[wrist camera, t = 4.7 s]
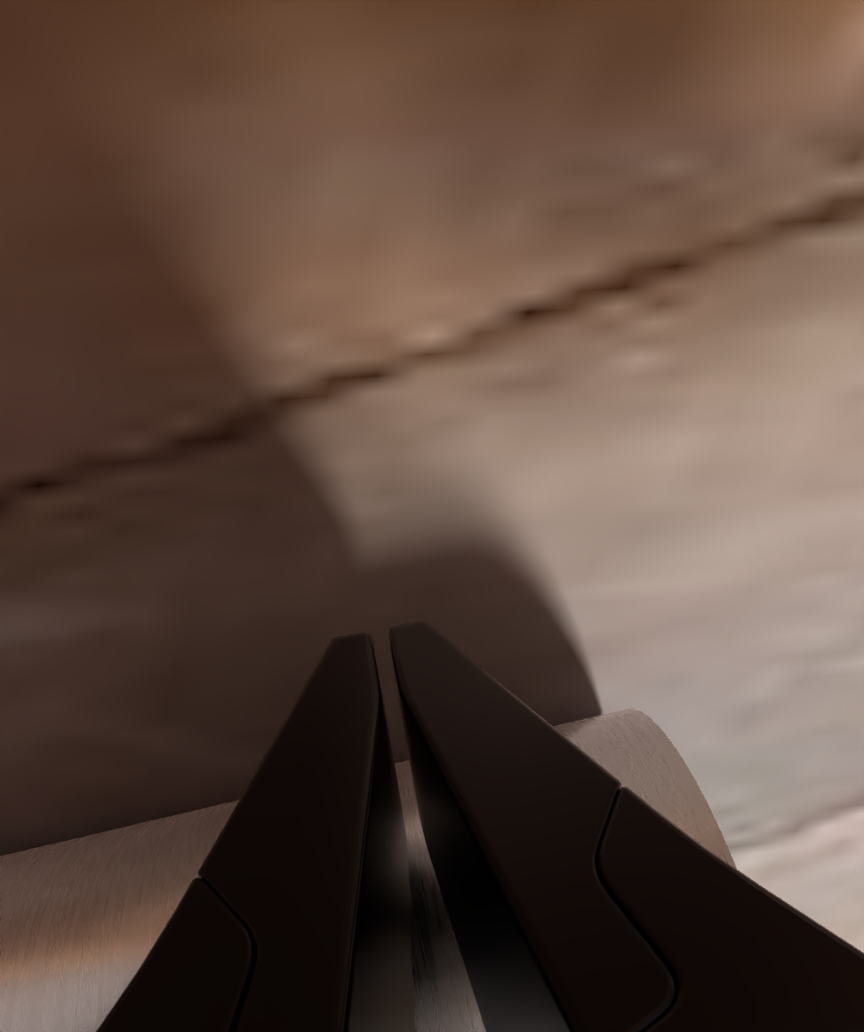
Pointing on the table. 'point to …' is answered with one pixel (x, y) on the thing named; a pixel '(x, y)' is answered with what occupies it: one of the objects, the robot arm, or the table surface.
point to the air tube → (175, 863)
